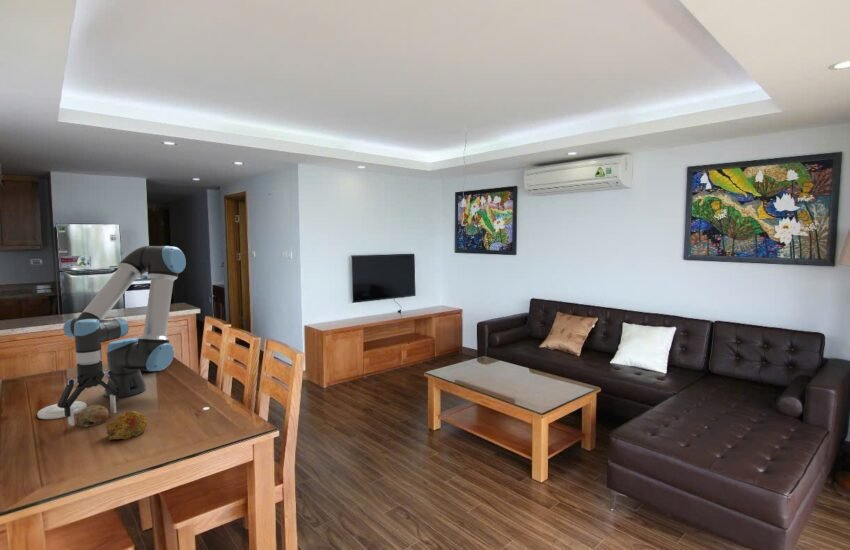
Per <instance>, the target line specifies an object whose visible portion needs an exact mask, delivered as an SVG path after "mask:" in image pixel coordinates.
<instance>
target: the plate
mask: <svg viewBox="0 0 850 550" xmlns="http://www.w3.org/2000/svg"><path fill="white" fill-rule="evenodd" d="M57 405H58V403H55V404H51V405H47V406H45V407H43V408H41V409H39V410H38V411H37V418H38V419H41V420H56V419H63V418H67V417H66V416H65V412H64V408H60V407H58V406H57ZM71 407H73V413H74V416H75V415H77V414H78V413H79V412H80V411H81V410H83V409H85V408H87V407H88V405H87V403H86V401H80V400H79V401H78V400H75V401H74V403H73V404H72V405H71Z"/></svg>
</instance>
